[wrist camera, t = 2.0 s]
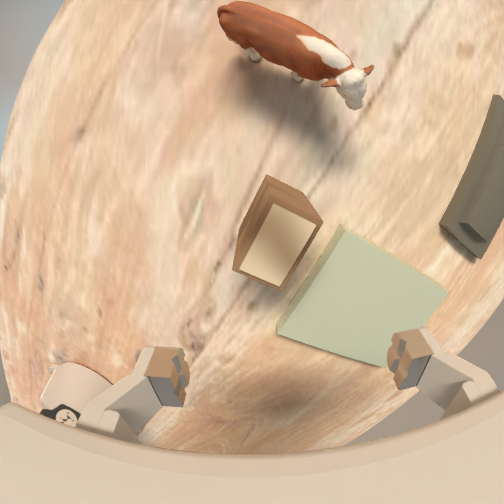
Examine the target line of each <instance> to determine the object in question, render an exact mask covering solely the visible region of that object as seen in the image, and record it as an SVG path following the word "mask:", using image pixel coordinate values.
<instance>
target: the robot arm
mask: <svg viewBox="0 0 504 504" xmlns="http://www.w3.org/2000/svg"><path fill="white" fill-rule="evenodd" d="M391 341H392V343H393V344H392V345H391V346H390V348H389V349H388V352H387V364H388V367H389V369H390V371H392V372H393V373H395V375H394V378H393V379H394V381H395V383H396V386H397V388H398V390H402V389H407V388H411V387H415V386H417V388H418V389H419V390H420V391H422V392H423V393H424V394H425V395H426V396H428V397H429V398H430V399H432V400H433V401H434V402H435V403H436V404H438V405H439V406H440V407H441V408H443V409H444V410H445V412H444V413H443V415H442V416H441V417H440V419H439V420H438V421H436V422H433V423H430V424H427V425H424V426H422V427H419V428H416V429H412V430H409V431H406V432H402V433H399V434H395V435H392V436H388V437H384V438H380V439H376V440H371V441H367V442H362V443H357V444H352V445H347V446H341V447H335V448H328V449H321V450H313V451H303V452H292V453H277V454H216V453H201V452H190V451H181V450H173V449H166V448H159V447H153V446H147V445H143V444H142V442H141V441H140V440H139V439H138V437H137V436H136V435H135V434H136V433H137V432H138V431H139V430H140V429H141V428H142V427H143V426H144V425H145V424H146V423H147V422H148V421H149V420H150V419H151V418H152V417H153V416H154V415H155V414H156V413H157V412H158V411H159V410H160V409H161V408H162V407H163V406H172V407H183V405H184V401H185V397H186V392H185V390H184V388H186V387H187V386H188V384H189V378H190V371H189V366H188V363H187V362H186V361H185V360H184V357H185V354H184V351H183V349H182V348H174V347H158V346H157V347H155V346H145V347H144V348H143V349H142V352H141V354H140V356H139V358H138V361H137V363H136V365H135V367H134V370H133V372H132V374H131V375H127V376H125V377H124V378H122V379H121V380H119V381H118V382H117V383H115V384H114V385H112V384H111V383H109V382H108V381H107V380H106V379H104V378H103V377H102V376H100V375H99V374H97V373H96V372H94V371H92V370H90V369H88V368H86V367H84V366H82V365H79V364H76V363H70V362H67V363H63V364H61V365H57V364H51V365H50V367H49V370H50V373H51V375H52V376H51V378H50V380H49V382H48V384H47V385H46V387H45V389H44V391H43V393H42V396H41V400H42V404H43V407H44V409H42V411H41V412H40V414H39V413H36V412H34V411H32V410H29V409H27V408H25V407H23V406H21V405H19V404H16V403H12V402H11V403H7V404H5V405H3V406H1V407H0V504H504V391H502V392H500V391H499V390H498V388H497V386H496V385H495V383H494V382H493V380H492V378H491V377H490V375H489V374H488V372H486V371H484V370H482V369H480V368H478V367H477V366H475V365H473V364H471V363H469V362H467V361H465V360H464V359H462V358H460V357H458V356H456V355H454V354H452V353H450V352H449V351H444V350H443V348H442V347H441V345H440V344H439V342H438V341H437V339H436V338H435V336H434V335H433V334H432V332H431V331H430V329H429V328H428V327H426V326H425V327H420V328H416V329H411V330H406V331H401V332H396V333H394V334H393V336H392V339H391Z"/></svg>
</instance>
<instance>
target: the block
mask: <svg viewBox="0 0 504 504" xmlns="http://www.w3.org/2000/svg"><path fill="white" fill-rule="evenodd" d="M322 224H323V221H322V219H321V218H320V216H319V215H318V213H317V212H316V210H315V209H314V207H313V206H312V205H311V203H310V202H309V200H308V199H307V197H306V196H305V195H304V193H303V192H301V191H299V190H297V189H295V188H293V187H291V186H289V185H287V184H285V183H283V182H281V181H279V180H277V179H275V178H273V177H271V176H269V175H267V174H266V176H265V178H264V180H263V182H262V184H261V186H260V188H259V190H258V192H257V194H256V196H255V198H254V200H253V202H252V204H251V206H250V208H249V210H248V212H247V214H246V216H245V218H244V220H243V222H242V224H241V226H240V229H239V234H238V240H237V245H236V251H235V256H234V262H233V268H232V270H233V271H235V272H238V273H240V274H242V275H245V276H247V277H249V278H252V279H254V280H256V281H259V282H261V283H263V284H266V285H268V286H271V287H273V288H275V289H278V290H280V291H282V290H283V288H284V286H285V285H286V283H287V282H288V280H289V278H290V277H291V275H292V274H293V272H294V270H295V269H296V267H297V266H298V264H299V262H300V261H301V259H302V257H303V256H304V254H305V252H306V251H307V249H308V247H309V246H310V244H311V242H312V241H313V239H314V237H315V236H316V234H317V232H318V231H319V229H320V227H321V226H322Z"/></svg>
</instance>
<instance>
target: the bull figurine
mask: <svg viewBox="0 0 504 504" xmlns="http://www.w3.org/2000/svg"><path fill="white" fill-rule="evenodd" d="M217 14H218V17H219V23H220V25H221V27H222V29H223V30H224V32H225V33H226V36H227V38H228V39H229V40H230V41H233V42H234V43H236V44H239V45H240V46H241V47H242V48H244V49H245V50H246V55H249V56H250V58H251V60H252V61H255V62H258V61H260V60H261V59H262V57H263V58H264V59H266V60H267V61H269V62H272V63H274V64H277V65H281V66H284V67H286V68H288V69H290V70H292V71H294V72H292V73H291V75H292V76H293V77H294V80H295V81H296V82H302V81H303V79H304V78H305V79H309V80H313V81H319V80H322V79H325V78H326V79H329V81H327V82H326V83H324V84H321V87H331V86H332V87H336V90H337V92H338V93H339V94H340V95H341V96H342V97H343V98H344V99H345V103H346V105H347V106H348V107H349V108H350V109H353V110H357V109H360V108H362V107H363V101H362V98H363V96H364V94H365V92H366V86H367V84H366V82H365V79H364V77H365V76H367V75H369V74H370V73H371V71H372V70H373V68H374V66H373V65H371V66H369V67H367V68H364V69H362V70H358V69H356V68H355V67H354V65H353V63H352V62H351V60H350V58H349V57H348V56H347V55H346V54H345V53H344V52H343V51H341V50H340V49H339V48H338V47H337V46H336V45H335V44H334V43H333V42H332V41H331V40H330V39H329V38H327V37H326V36H324V35H322V34H320V33H318V32H317V31H316V30H314V29H313V28H311V27H310V26H308V25H306V24H304V23H302V22H300V21H298V20H296V19H294V18H292V17H289V16H286V15H283V14H280V13H277V12H273V11H271V10H269V9H267V8H264V7H262V6H259V5H256V4H253V3H249V2H243V1H234V2H232V3H230V4H228V5H224V6H221V7H219V8H218V11H217ZM251 47H252V48H254V49H255V50H256V51H255V50H254V49H252V48H251ZM261 56H262V57H261Z"/></svg>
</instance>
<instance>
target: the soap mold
mask: <svg viewBox="0 0 504 504" xmlns="http://www.w3.org/2000/svg"><path fill="white" fill-rule="evenodd" d="M503 218H504V100H503V99H502V97H501V96H500V95H494V94H493V97H492V101H491V104H490V107H489V110H488V113H487V117H486V119H485V122H484V125H483V128H482V131H481V134H480V136H479V139H478V141H477V144H476V146H475V149H474V151H473V154H472V156H471V159H470V161H469V163H468V166H467V168H466V170H465V172H464V174H463V177H462V179H461V181H460V183H459V185H458V187H457V189H456V191H455V194H454V196H453V198H452V200H451V202H450V204H449V205H448V207H447V209H446V211H445V213H444V215H443V217H442V219H441V220H440V222H439V224H440V225H441V226H442V227H443V228H444V229H445V230H446V231H448V232H449V233H450V234H451V235H452V236H454V237H455V238H456V239H457V240H458V241H459V242H460V243H462V244H463V245H464V246H465V247H466V248H467V249H468V250H469V251H470V252H472V253H473V254H474V255H475V256H476V257H478V258H479V259H482V257H483V255H484V253H485V252H486V250H487V248H488V246H489V245H490V243H491V241H492V239H493V237H494V236H495V234H496V232H497V230H498V228H499V226H500V224H501V222H502V220H503Z"/></svg>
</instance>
